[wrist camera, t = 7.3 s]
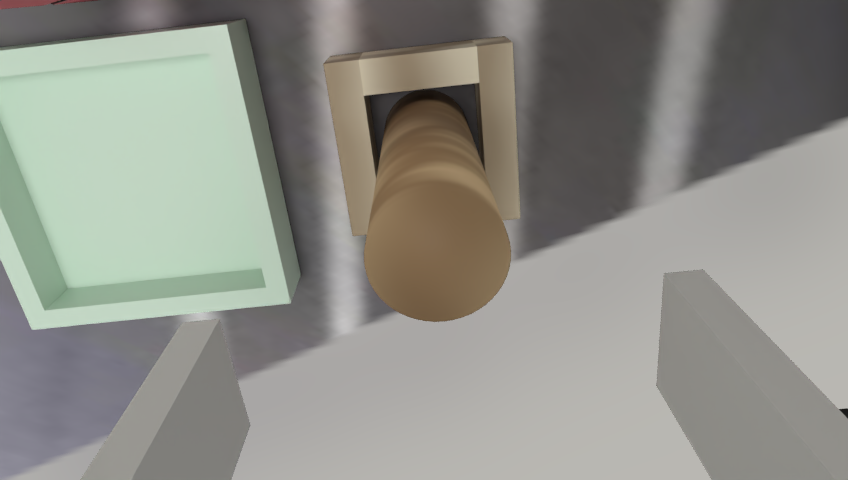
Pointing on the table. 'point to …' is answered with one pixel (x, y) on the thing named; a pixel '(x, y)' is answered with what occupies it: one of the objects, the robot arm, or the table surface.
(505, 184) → the socket block
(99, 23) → the table surface
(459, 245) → the dowel
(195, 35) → the tray
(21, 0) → the puzzle cube
